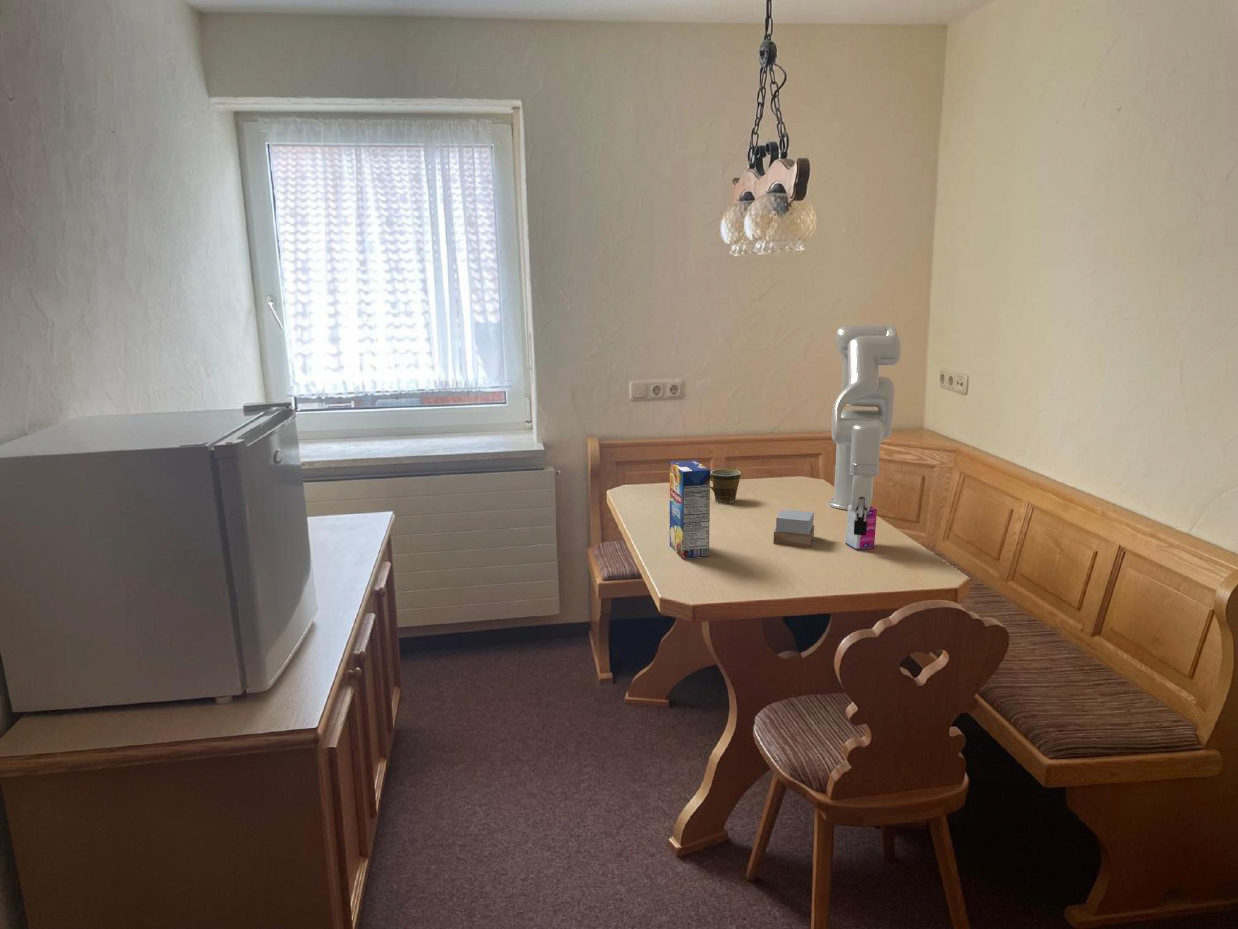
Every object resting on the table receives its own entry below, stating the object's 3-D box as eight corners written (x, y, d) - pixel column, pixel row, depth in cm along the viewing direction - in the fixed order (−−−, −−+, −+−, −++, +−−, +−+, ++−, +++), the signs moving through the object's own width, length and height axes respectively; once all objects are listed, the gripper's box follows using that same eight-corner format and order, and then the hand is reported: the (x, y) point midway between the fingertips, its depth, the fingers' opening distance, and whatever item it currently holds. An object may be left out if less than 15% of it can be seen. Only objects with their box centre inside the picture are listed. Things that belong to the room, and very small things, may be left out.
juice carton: (669, 545, 223) (669, 462, 218) (694, 543, 225) (695, 460, 220) (682, 559, 212) (683, 471, 207) (709, 557, 214) (710, 469, 208)
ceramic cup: (739, 497, 272) (740, 469, 270) (740, 505, 262) (741, 476, 260) (701, 497, 274) (701, 468, 271) (701, 504, 264) (701, 475, 262)
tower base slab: (778, 534, 233) (779, 521, 232) (813, 538, 230) (814, 524, 229) (773, 545, 224) (773, 531, 223) (809, 549, 220) (810, 535, 219)
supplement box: (856, 551, 217) (858, 510, 214) (844, 544, 222) (846, 504, 220) (875, 548, 218) (877, 508, 216) (863, 542, 224) (865, 503, 221)
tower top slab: (781, 522, 231) (782, 509, 230) (813, 525, 228) (813, 512, 227) (775, 531, 223) (776, 517, 222) (808, 534, 220) (809, 520, 219)
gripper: (852, 462, 225) (849, 520, 228) (847, 474, 209) (844, 537, 212) (880, 463, 222) (876, 522, 226) (877, 476, 206) (873, 540, 210)
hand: (860, 529), depth 219 cm, fingers open, 9 cm apart
